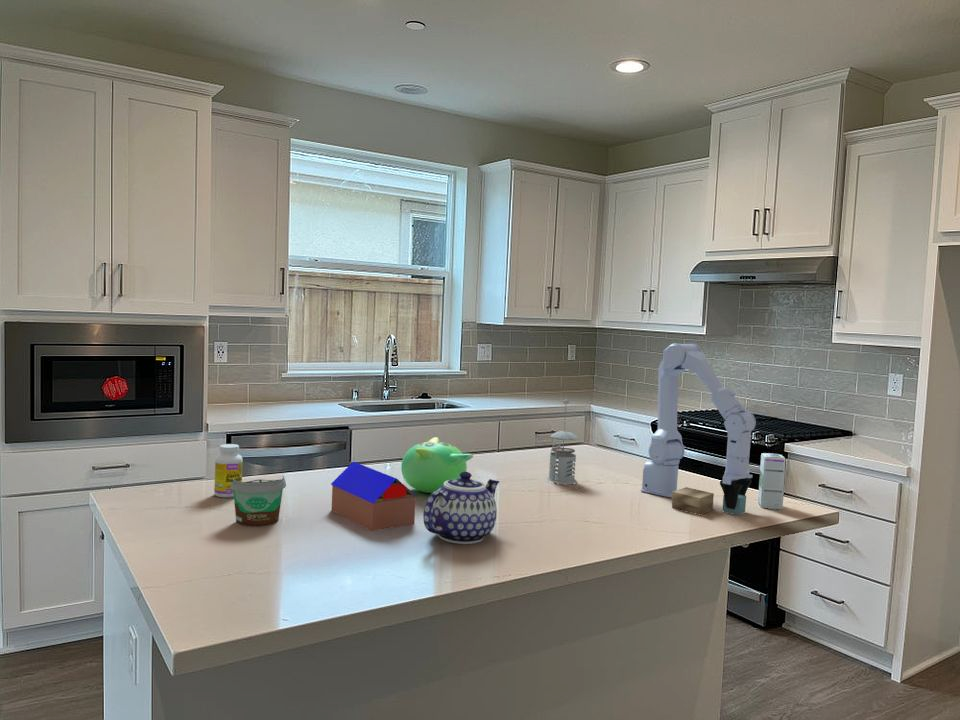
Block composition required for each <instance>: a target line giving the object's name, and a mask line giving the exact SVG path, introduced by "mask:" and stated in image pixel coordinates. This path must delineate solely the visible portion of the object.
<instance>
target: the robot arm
mask: <svg viewBox="0 0 960 720" xmlns="http://www.w3.org/2000/svg"><path fill="white" fill-rule="evenodd" d="M685 370H688V371H692V372H694V373H695V374H696V375H697V377H698V378H699V379H700V380H701V382H702V383H703V384H704V385H705V387H706V388H707V389H708V391H710V393H711V400H710V401H711V402H712V403H713V405H714V406H715V408H716V409H717V411H718V412H719V413H720V415H721V416H722V418H723V419H724V420H725V421H723V422H724V428H725V430H726V432H727V443H726V458H725V471H724V474H723V475H722V480H720V481H719V485H720V487H721V488H722V493H723V496H724V497H725V503H726V508H730V509H735V507H736V504H737V499H738V495H739V494H740V495H745V496H746V494H747V491H748V489H749V487H750V485H751V484H752V481H753V480H752V479H753V474H750V469H749V467H750V465H749V464H750V450H751V440H752V439H751V438H752V431H753V430H755V428H756V425H757V421H756V420H757V419H756V417H755V415H754V413H753V412H751V411H749V410H746V407H745V405H742V404H741V402H739V400H738V398H737V397H736V392H735V391H734V390H731V389H730V388H728V387H724V386H723V385H722V383H721V381H720V379H719V378H718V377H717V375H716V374H715V372H714V369H712V367H711V365H710V364H709V362H708V360H707V357H706V353H704V351H702V349H701V347H700V346H699V345H698V344H697V343H671V344H670V345H668V346H667V347H666V348H665V349H663V351H662V360H661V362H660V364H659V366H658V371H657V372H658V373H657V375H658V377H657V378H658V379H657V380H658V381H657V382H658V383H657V430H656V431H655V432H654V433H653V434H652V436H651V439H650V445H649V447H648V456H649V458H650V459H651V460H647V461H646V462H645V463H644V465H643V470H642V481H641V482H642V483H641V485H642V486H641V489H640V491H641V492H642V493H648V494H652V495H656V496H657V495H658V496H662V497H666V498H672V492H673V491H676V490H678V478H679V464H680V460H681V459H683V457H684V455H685V452H686V451H685V445H684V444H683V437H682V435H681V433H680V431H678V393H679V392H678V390H679V389H678V385H679V384H678V382H679V381H678V380H679V376H681V374H682V373H684V371H685Z"/></svg>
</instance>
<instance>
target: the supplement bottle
mask: <svg viewBox="0 0 960 720" xmlns="http://www.w3.org/2000/svg"><path fill="white" fill-rule="evenodd" d="M239 451H240V445H239V444H236V443H224V444H220V445H219V453H220V454H218V455H217V456H216V457H215V460H214V462H215V463H214V466H215V467H214V486H213V488H214V491H213V492H214V495H215V496H216V497H218V498H222V499H223V498H224V499H230V498H234V491H233V490H232V489H231V488H230V486H231V482H233V479H234V480H236V481H239V482H243V462H244V460H243V456H242V455H241V454H239Z"/></svg>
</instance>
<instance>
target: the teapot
mask: <svg viewBox="0 0 960 720" xmlns="http://www.w3.org/2000/svg"><path fill="white" fill-rule="evenodd" d="M460 477H461V478H458V479H452V480H448V481H445V482H444V485H443V486H442V487H440V488H439V489H438V490H437V491H434V492H433V493H430V495H429V496H428V498H427V500H426V502H425V505H424V508H423V525H424V527H425V529H426V530H427V531H428V532H430V533H431V534H436V535H438V537H439V538H440V539H441V540H442V541H445V542H448V543H452V544H458V545H472V544H477V543H481V542H482V541H483V540H484V538H485V537H487V536H488V535H490V534H491V532H492V531H493V529H494V528H495V526H496V525H495V524H496V521H497V513H498V512H497V511H498V509H497V503H496V498H495V496H496V489H497V486H498V485H499V483H500V481H499V480H498V479H492V478H489V479H488V480H487V482H486V484H485V483H484V482H482V481H479V480H475V479H471V477H472V474H471V472H469V471H466V472H461V473H460Z"/></svg>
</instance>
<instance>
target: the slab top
mask: <svg viewBox="0 0 960 720" xmlns="http://www.w3.org/2000/svg"><path fill="white" fill-rule="evenodd" d="M714 496H715V494H714V493H713V492H708V491H705V490H700V489H696V488H691V487H688V486H687V487H686V486H685V487H683V488H680V489H679V488H678V489H677V490H676V491H673V492H672V497H671V502H672V501H674V502H678V503H683V504H687V505H691V506H695V507H702V506H705V505H708V504H710V503H713V504H714V498H715V497H714Z"/></svg>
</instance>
